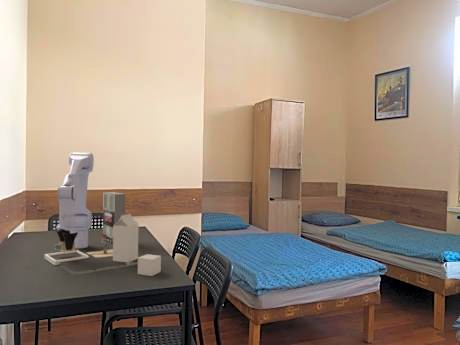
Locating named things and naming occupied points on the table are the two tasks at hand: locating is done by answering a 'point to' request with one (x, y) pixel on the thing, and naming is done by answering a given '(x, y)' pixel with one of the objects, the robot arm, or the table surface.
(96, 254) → the tan base plate
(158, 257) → the white cube
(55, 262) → the tray
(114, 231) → the milk carton
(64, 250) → the collar
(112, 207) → the tall grey upright box
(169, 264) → the table surface
